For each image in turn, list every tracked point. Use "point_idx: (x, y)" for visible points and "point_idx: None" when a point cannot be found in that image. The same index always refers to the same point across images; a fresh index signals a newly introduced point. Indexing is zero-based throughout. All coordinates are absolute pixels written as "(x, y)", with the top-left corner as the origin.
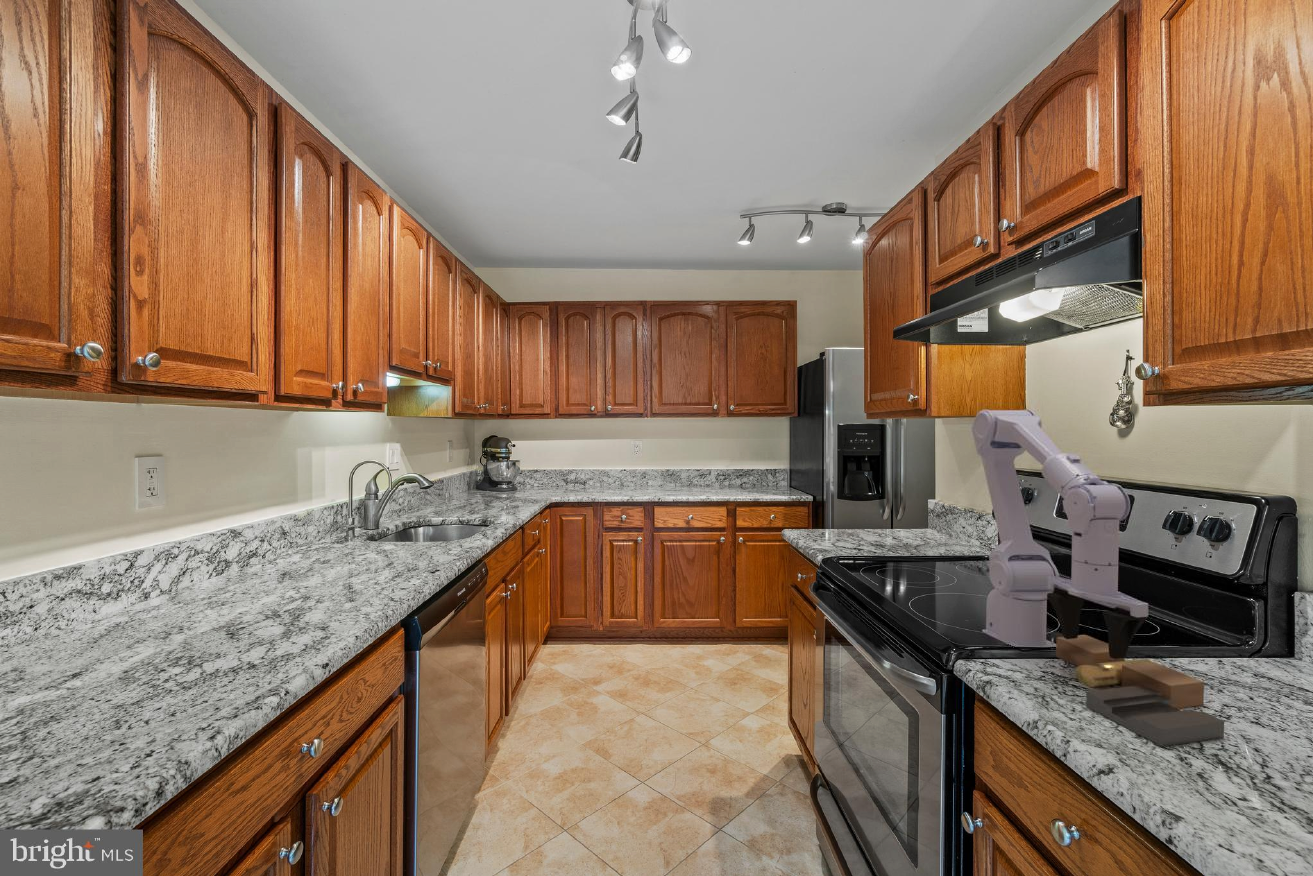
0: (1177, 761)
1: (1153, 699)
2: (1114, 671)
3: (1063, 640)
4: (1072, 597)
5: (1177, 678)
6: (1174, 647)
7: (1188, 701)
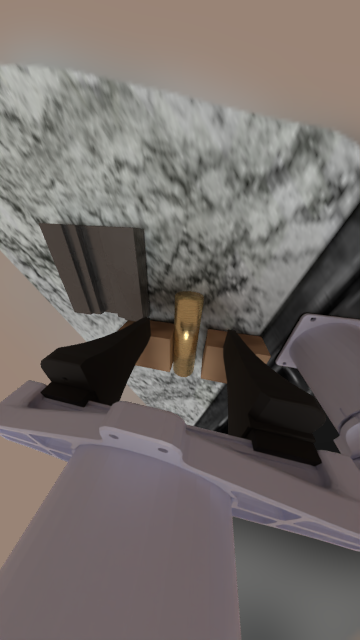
0: (39, 213)
1: (120, 303)
2: (175, 328)
3: (257, 353)
4: (240, 428)
5: None
6: (219, 422)
7: None
